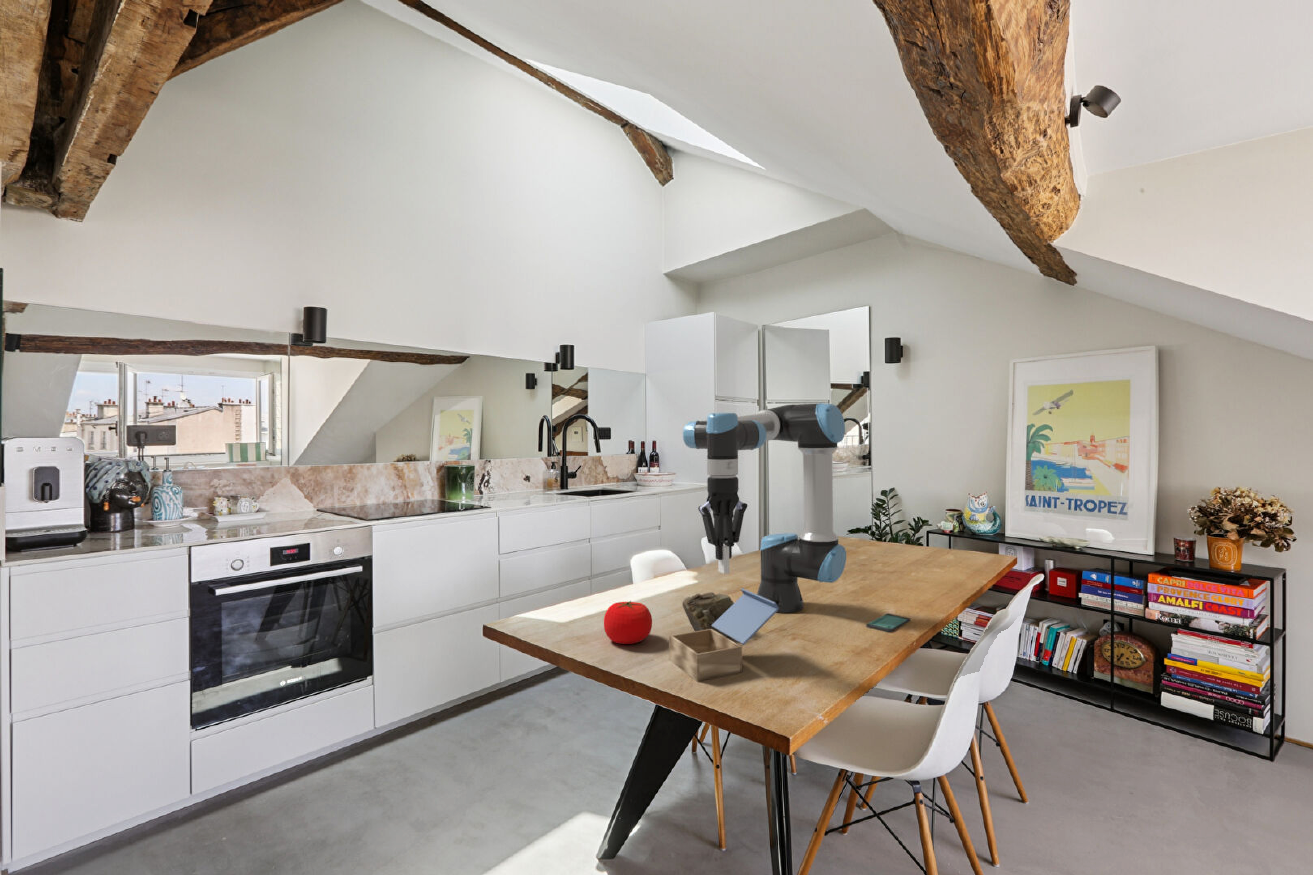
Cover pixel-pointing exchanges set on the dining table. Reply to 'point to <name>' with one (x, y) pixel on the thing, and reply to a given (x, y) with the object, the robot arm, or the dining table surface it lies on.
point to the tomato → (627, 622)
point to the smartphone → (888, 622)
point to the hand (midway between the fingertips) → (723, 572)
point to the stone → (706, 610)
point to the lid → (745, 616)
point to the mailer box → (705, 654)
